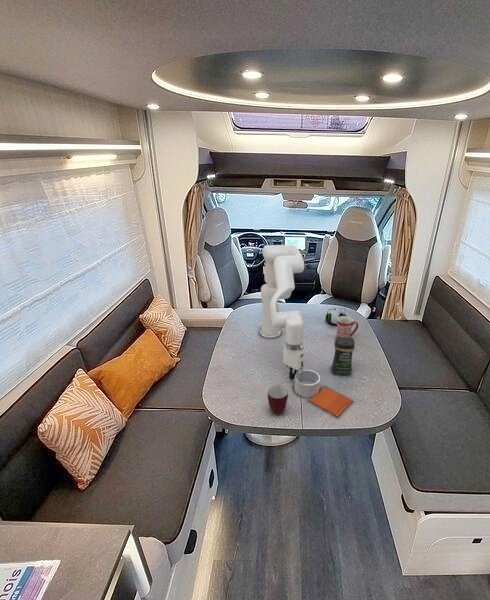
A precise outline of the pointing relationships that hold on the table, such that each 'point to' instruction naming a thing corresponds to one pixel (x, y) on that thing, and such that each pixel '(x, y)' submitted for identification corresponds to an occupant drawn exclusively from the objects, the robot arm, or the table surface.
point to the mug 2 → (345, 326)
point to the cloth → (331, 401)
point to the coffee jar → (343, 355)
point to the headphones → (328, 318)
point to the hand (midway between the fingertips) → (292, 378)
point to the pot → (307, 383)
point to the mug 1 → (277, 398)
